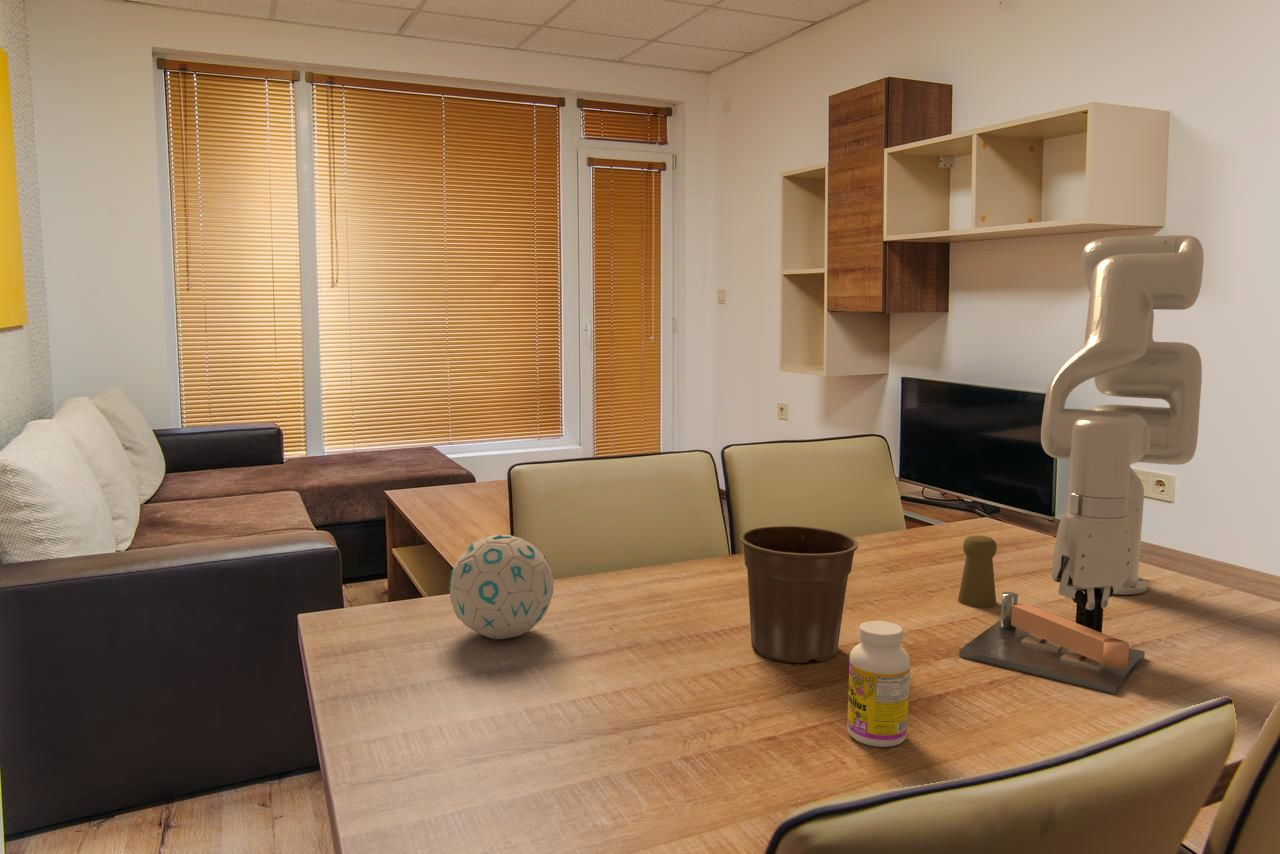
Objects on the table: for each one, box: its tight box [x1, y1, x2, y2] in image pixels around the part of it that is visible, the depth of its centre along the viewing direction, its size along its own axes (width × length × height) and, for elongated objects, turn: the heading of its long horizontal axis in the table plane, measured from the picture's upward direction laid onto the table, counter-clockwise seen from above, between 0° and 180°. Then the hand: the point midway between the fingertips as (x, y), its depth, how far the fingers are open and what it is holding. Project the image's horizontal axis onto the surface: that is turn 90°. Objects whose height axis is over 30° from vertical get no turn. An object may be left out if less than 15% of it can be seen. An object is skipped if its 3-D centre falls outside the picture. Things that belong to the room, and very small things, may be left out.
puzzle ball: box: [448, 534, 554, 640], centre depth 139 cm, size 15×15×15 cm
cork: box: [957, 534, 998, 609], centre depth 156 cm, size 6×6×11 cm
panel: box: [958, 591, 1146, 695], centre depth 131 cm, size 16×20×6 cm
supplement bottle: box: [846, 620, 911, 748], centre depth 107 cm, size 7×7×13 cm
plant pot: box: [739, 525, 859, 664], centre depth 134 cm, size 16×16×16 cm
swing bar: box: [1011, 602, 1130, 669], centre depth 131 cm, size 18×3×3 cm, turn 23°
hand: (1088, 633), depth 134 cm, fingers closed
